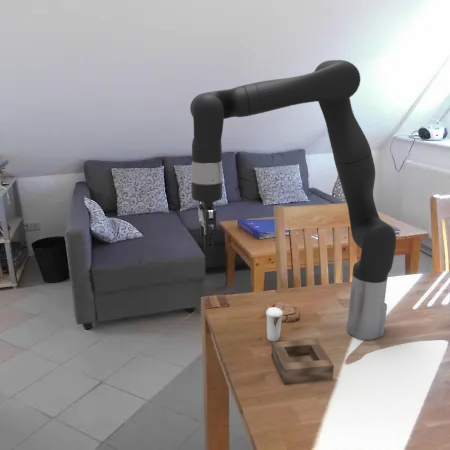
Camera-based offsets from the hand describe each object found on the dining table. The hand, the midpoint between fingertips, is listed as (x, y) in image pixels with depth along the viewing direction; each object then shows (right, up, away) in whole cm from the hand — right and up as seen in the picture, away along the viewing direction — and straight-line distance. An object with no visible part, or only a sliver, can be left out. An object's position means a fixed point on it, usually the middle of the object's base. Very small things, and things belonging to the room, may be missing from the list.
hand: (207, 242), depth 122 cm
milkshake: (+18, -27, +12) cm, 35 cm away
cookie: (+22, -23, +25) cm, 41 cm away
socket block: (+23, -31, -1) cm, 39 cm away
